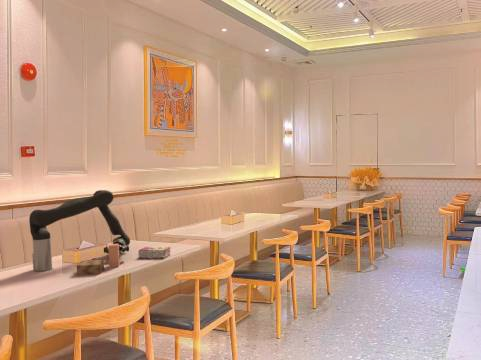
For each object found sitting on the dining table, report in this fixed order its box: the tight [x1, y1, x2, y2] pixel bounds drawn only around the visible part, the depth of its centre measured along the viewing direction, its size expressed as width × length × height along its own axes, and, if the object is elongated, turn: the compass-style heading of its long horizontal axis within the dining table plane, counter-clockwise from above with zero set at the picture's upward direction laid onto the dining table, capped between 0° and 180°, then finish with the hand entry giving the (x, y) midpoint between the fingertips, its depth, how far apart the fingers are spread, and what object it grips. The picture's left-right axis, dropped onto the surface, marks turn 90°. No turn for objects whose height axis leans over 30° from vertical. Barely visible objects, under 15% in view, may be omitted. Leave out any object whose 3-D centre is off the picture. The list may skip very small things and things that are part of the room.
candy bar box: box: [138, 246, 171, 259], centre depth 301 cm, size 11×5×16 cm
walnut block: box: [76, 259, 105, 276], centre depth 267 cm, size 12×12×5 cm
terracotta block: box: [107, 243, 121, 268], centre depth 279 cm, size 5×5×12 cm
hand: (115, 251), depth 285 cm, fingers open, 8 cm apart
